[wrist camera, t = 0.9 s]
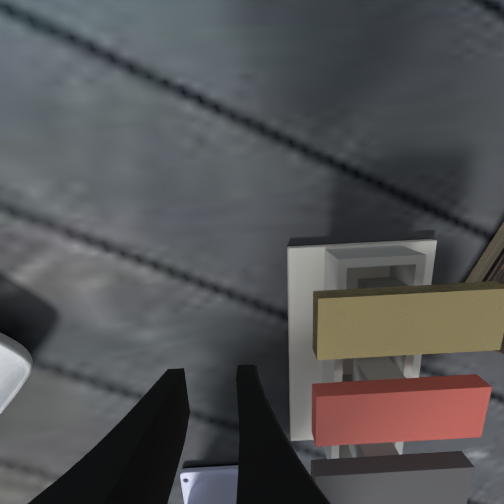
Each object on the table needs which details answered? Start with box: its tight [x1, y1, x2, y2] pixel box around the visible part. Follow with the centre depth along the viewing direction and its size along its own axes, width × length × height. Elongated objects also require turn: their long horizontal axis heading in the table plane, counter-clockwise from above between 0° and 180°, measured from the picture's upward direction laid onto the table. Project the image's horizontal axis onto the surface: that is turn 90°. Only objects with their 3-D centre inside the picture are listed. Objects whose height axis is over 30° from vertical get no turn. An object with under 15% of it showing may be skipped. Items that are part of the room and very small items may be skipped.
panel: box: [287, 239, 437, 459], centre depth 20 cm, size 18×11×3 cm, turn 3°
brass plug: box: [312, 277, 504, 360], centre depth 15 cm, size 4×10×4 cm, turn 93°
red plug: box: [312, 356, 492, 447], centre depth 17 cm, size 4×10×4 cm, turn 93°
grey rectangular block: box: [311, 442, 474, 504], centre depth 18 cm, size 4×10×4 cm, turn 93°
